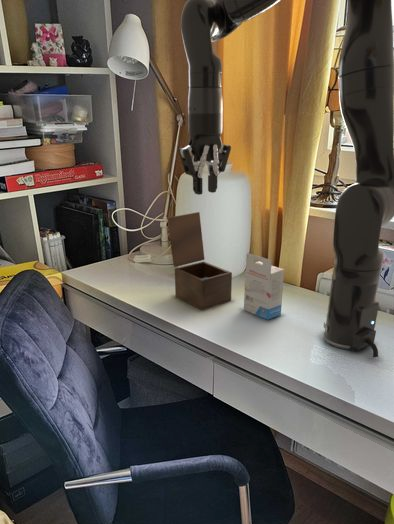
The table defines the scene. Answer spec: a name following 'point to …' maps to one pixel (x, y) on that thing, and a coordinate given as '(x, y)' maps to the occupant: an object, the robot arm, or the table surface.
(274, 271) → the ink box
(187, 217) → the chest lid
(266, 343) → the table surface
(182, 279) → the chest
